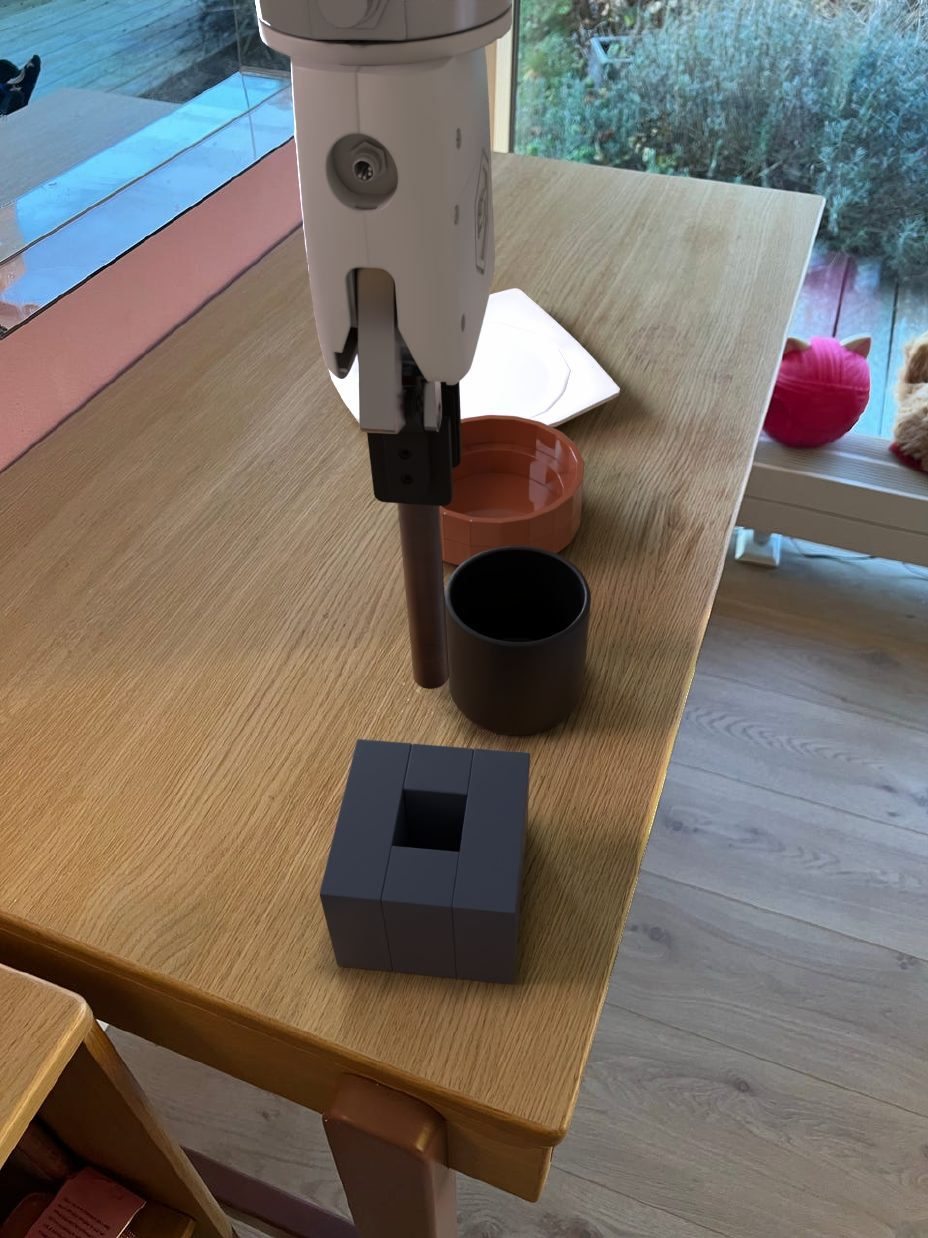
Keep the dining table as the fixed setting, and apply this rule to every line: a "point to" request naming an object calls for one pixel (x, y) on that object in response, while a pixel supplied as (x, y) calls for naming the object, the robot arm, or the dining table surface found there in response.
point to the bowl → (512, 488)
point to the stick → (424, 587)
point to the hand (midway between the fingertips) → (419, 478)
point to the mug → (517, 638)
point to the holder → (429, 861)
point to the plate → (520, 368)
